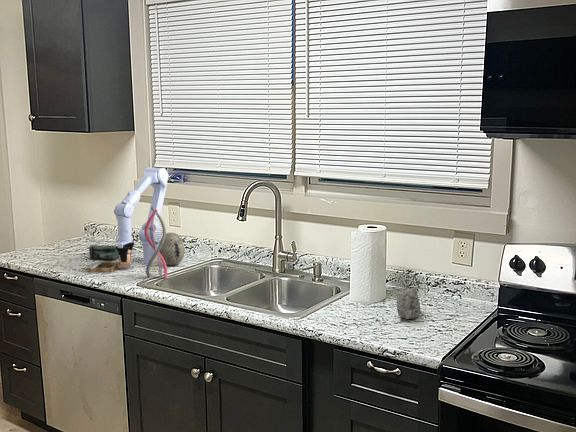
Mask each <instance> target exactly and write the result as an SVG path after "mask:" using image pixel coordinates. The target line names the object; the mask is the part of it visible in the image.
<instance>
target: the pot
mask: <svg viewBox="0 0 576 432" xmlns="http://www.w3.org/2000/svg"><path fill="white" fill-rule="evenodd" d="M130 256H131V257H132V253H131V250H128V254H127V262H121V259H120V255H119V257H118V262H119V267H129V266H131V259H130Z"/></svg>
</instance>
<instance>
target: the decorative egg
mask: <svg viewBox="0 0 576 432" xmlns="http://www.w3.org/2000/svg"><path fill="white" fill-rule="evenodd" d="M161 240H162V239H161ZM160 242H161V241H160ZM159 245H160V243H159ZM185 250H186V249H185V244H184V240H182V238H181V236H180V235H178V234H177V233H175V232H166V237H165V241H164V243H163V246H162V248H161V250H160V251H159V252H160V254H161V255H162V256H163V258H164V260H165V262H166V265H169V266H175V265H178V264H179V263H180V262H182V260H183V259H184V257H185V252H186V251H185Z"/></svg>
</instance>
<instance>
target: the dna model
mask: <svg viewBox="0 0 576 432" xmlns="http://www.w3.org/2000/svg"><path fill="white" fill-rule="evenodd" d="M151 209H152V210H153V213H152V215H151V217H150V218H149V219H148V218H147V219H148V221H147V220H146V222H147V224H146V226H145V229H144V230H145V231H144V232H145V233H144V234H145V237H146V239H147V241H148V243H149V244H150V245H151V247H152V248H153V249H154V250H155V253H154V255H153V256H152V258H151V260H150V261H149V263H147V264H146V268H145V274H146V277H147V278H150V277H156V278H163V279H167V278H168V266H167V264H166V262H165V260H164V258H163V256H162V255H161V254H160V252H159V251H160V250H161V248H162V246H163V243H164V241H165V237H166V234H167V230H166V229H167V228H166V225H165V222H164V220H163V218H162V217H161V216H160V215H159V214H158V210H157V209H154V207H151ZM155 215H156V216H157V217H156V216H155ZM154 217H156V218H159V219H156V218H154ZM154 219H156V220H159V221H156V222H159V225H160V227H161V228H160V229H162V230H158V231H162V232H153V230H156V229H152V228H157V227H153V226H158V225H153V224H150V223H154V222H153V221H155V220H154ZM154 224H158V223H154ZM149 225H151V226H149ZM148 227H150V229H148ZM148 230H150V231H148ZM147 233H150V234H147ZM152 233H162V234H152ZM148 235H151V236H150V237H149V236H148ZM153 235H162V236H153ZM154 237H162V238H157V239H162V240H159V241H161V242H160V245H156V246H159V247H156V246H155V244H154V242H158V241H153V240H157V239H153V238H154ZM150 238H152V239H150ZM151 240H152V242H151ZM156 244H158V243H156ZM156 248H158V249H156ZM157 255H158V256H157ZM156 256H157V257H158V258H157V257H156ZM155 258H157V259H158V260H156V259H155ZM159 258H160V259H159ZM153 260H156V261H158V262H156V263H158V264H154V263H152V262H155V261H153ZM159 260H162V261H159ZM160 262H162V263H160Z"/></svg>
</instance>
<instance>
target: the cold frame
mask: <svg viewBox="0 0 576 432" xmlns="http://www.w3.org/2000/svg"><path fill="white" fill-rule="evenodd" d="M119 268H120V266H119V261H104V260H95V261H94V262H92V263H90V264H89V265H88V266H86V267H85V269H86V270H88V273H104V274H105V273H106V274H107V273H109V274H110V273H113V272H114V271H115V270H117V269H119Z"/></svg>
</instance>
